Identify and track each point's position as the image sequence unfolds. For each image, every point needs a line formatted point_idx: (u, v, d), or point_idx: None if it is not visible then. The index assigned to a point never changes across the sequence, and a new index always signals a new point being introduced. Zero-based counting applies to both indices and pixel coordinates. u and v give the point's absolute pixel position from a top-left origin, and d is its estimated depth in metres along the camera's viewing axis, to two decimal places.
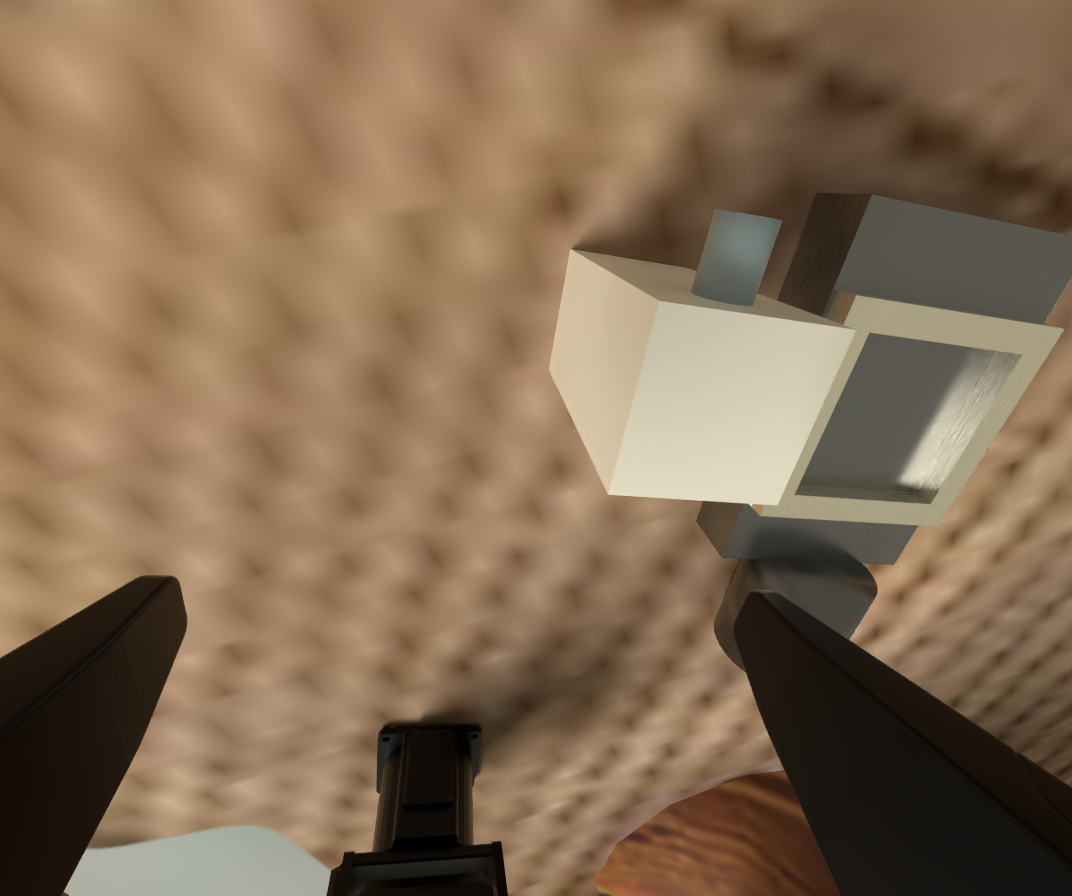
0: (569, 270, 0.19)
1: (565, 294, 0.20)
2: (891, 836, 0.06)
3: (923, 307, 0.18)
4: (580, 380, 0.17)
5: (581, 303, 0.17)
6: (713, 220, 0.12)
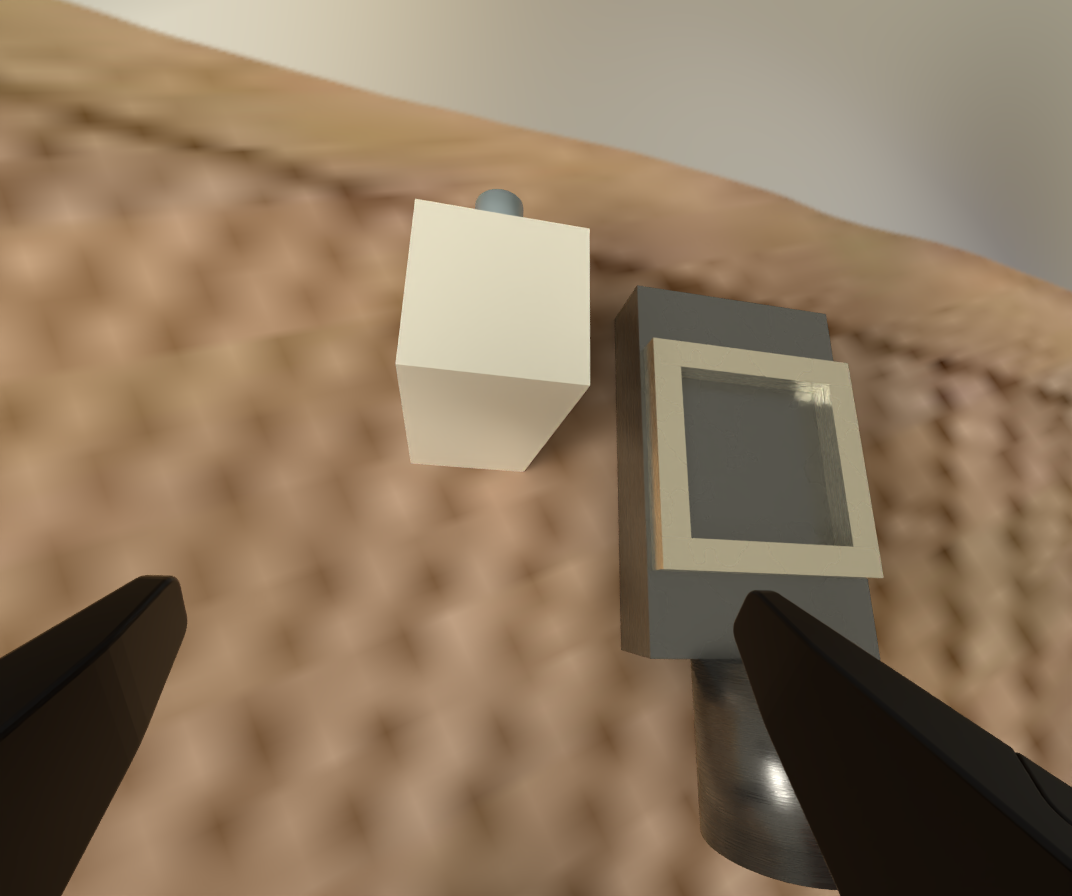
0: None
1: None
2: (891, 836, 0.06)
3: (715, 346, 0.22)
4: None
5: None
6: None
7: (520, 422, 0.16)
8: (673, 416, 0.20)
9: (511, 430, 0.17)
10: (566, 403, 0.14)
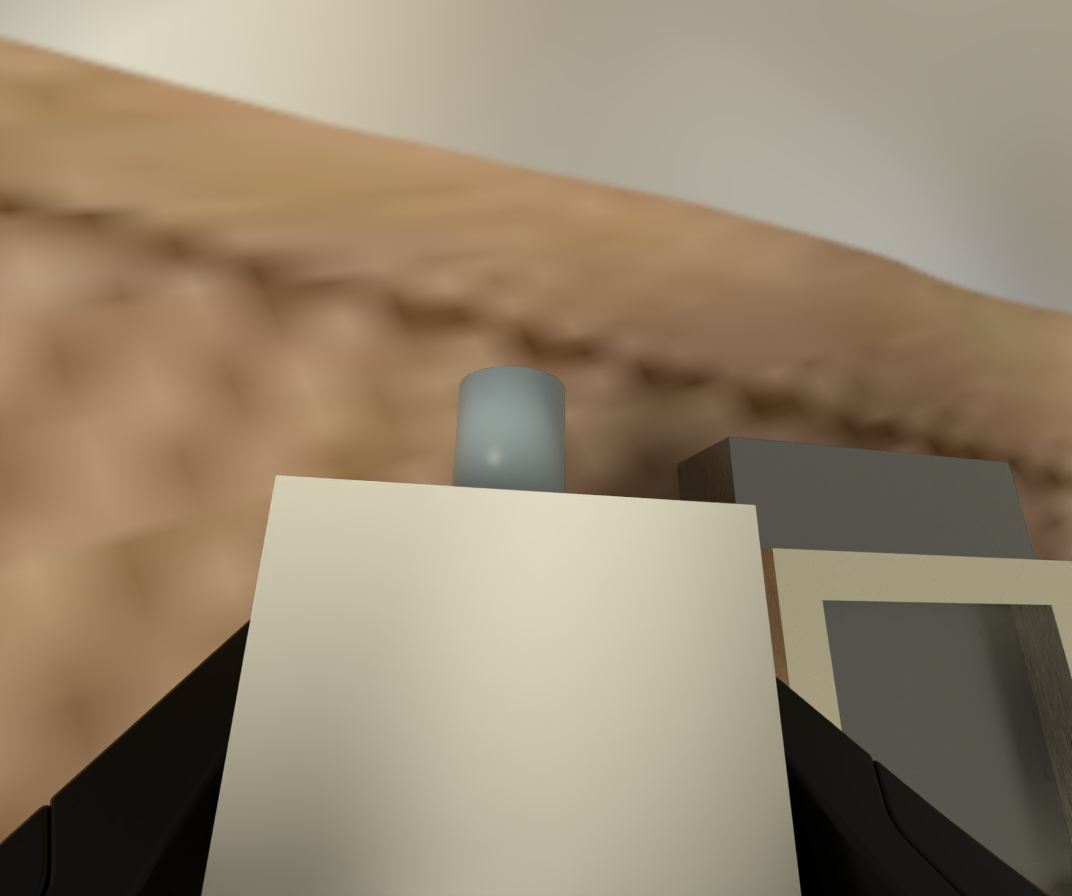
0: None
1: None
2: None
3: (873, 554, 0.13)
4: None
5: None
6: (458, 402, 0.07)
7: None
8: (820, 705, 0.11)
9: None
10: None
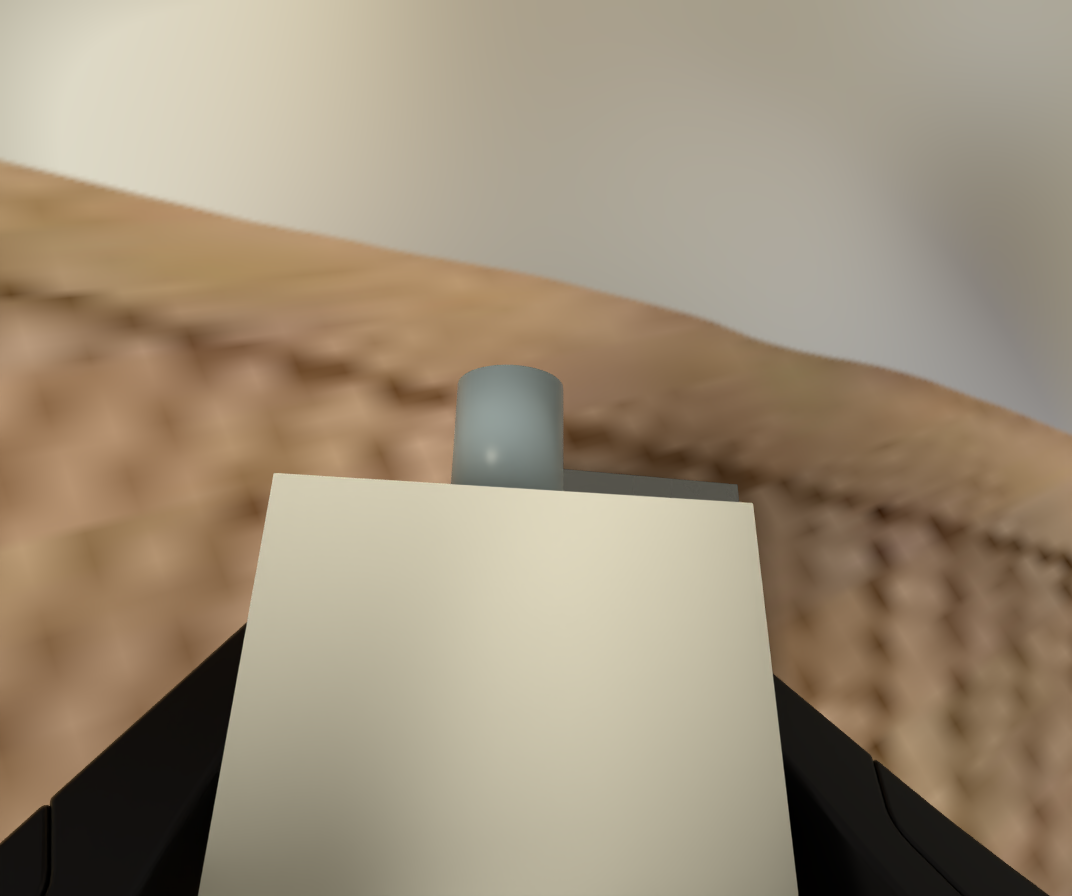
0: None
1: None
2: None
3: None
4: None
5: None
6: (457, 401, 0.07)
7: None
8: None
9: None
10: None
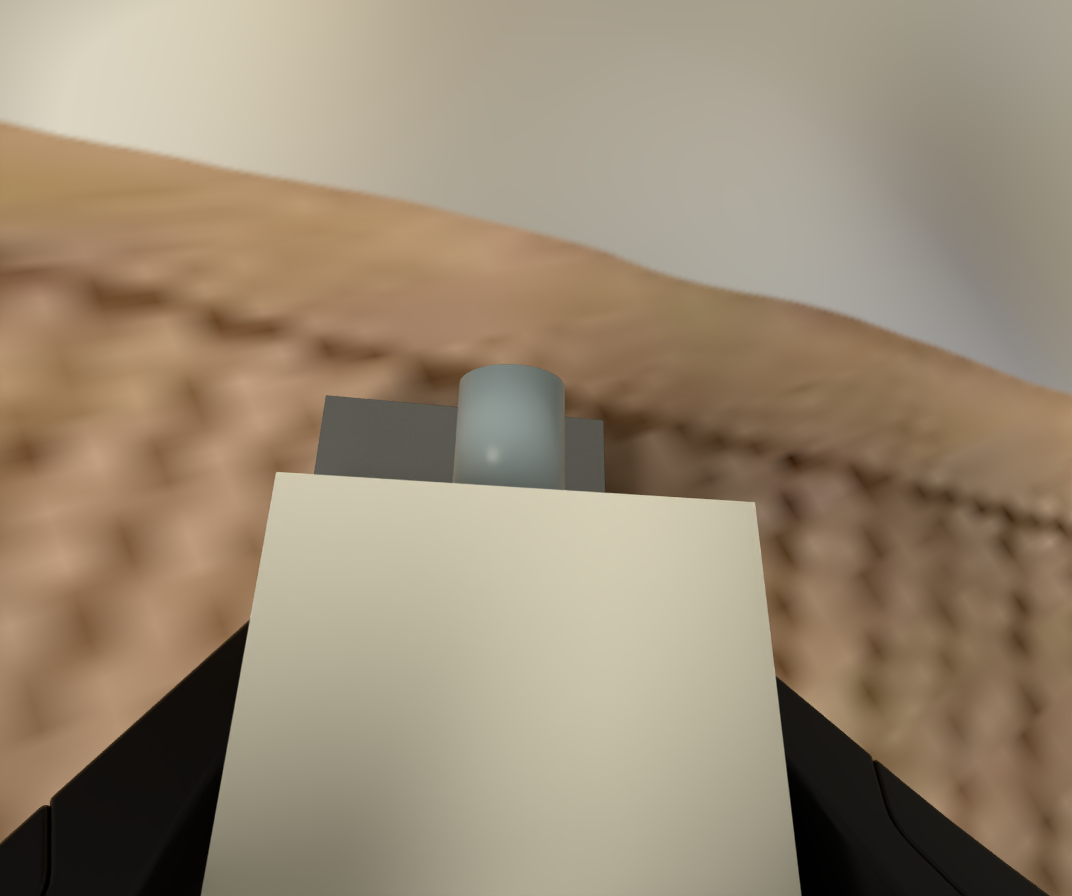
0: None
1: None
2: None
3: None
4: None
5: None
6: (458, 400, 0.07)
7: None
8: None
9: None
10: None
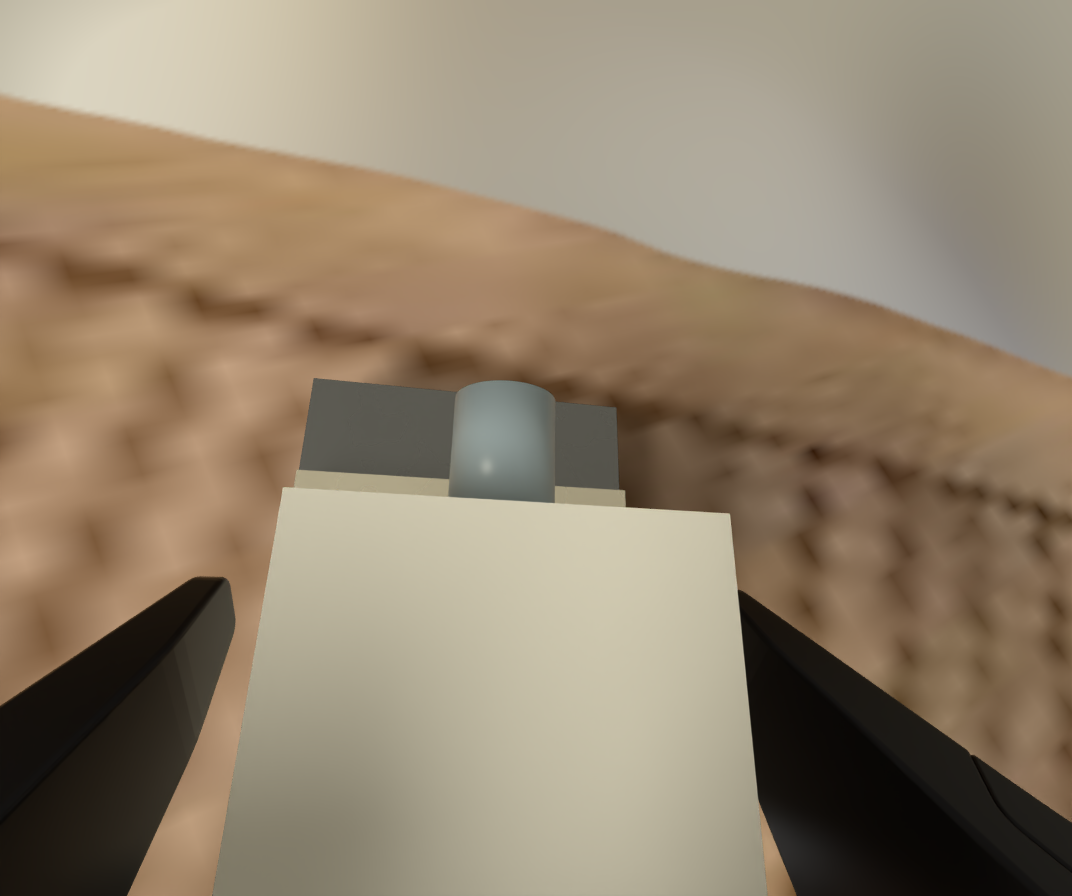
0: None
1: None
2: (846, 840, 0.06)
3: (405, 478, 0.14)
4: None
5: None
6: (454, 413, 0.08)
7: None
8: None
9: None
10: None
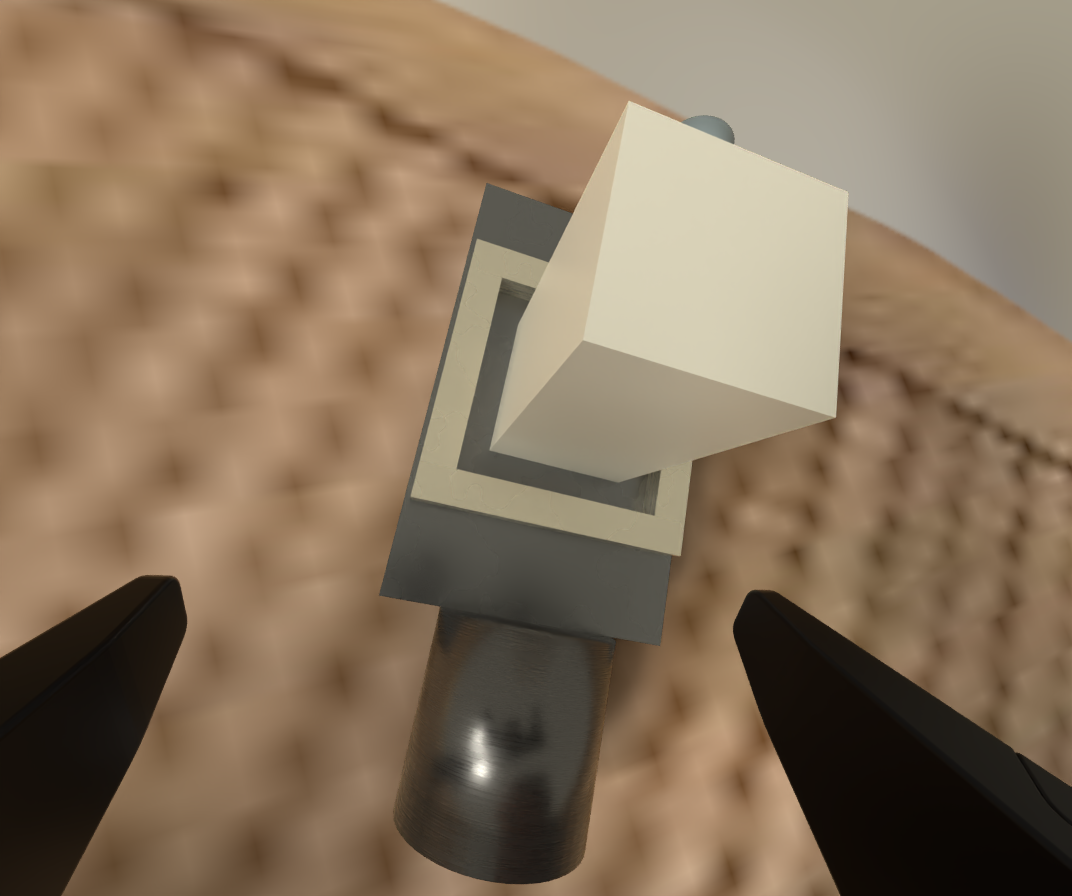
0: (516, 337, 0.18)
1: (512, 358, 0.18)
2: (891, 836, 0.06)
3: None
4: (531, 362, 0.13)
5: (531, 319, 0.15)
6: None
7: (677, 439, 0.12)
8: (475, 331, 0.17)
9: (656, 443, 0.13)
10: (770, 430, 0.10)
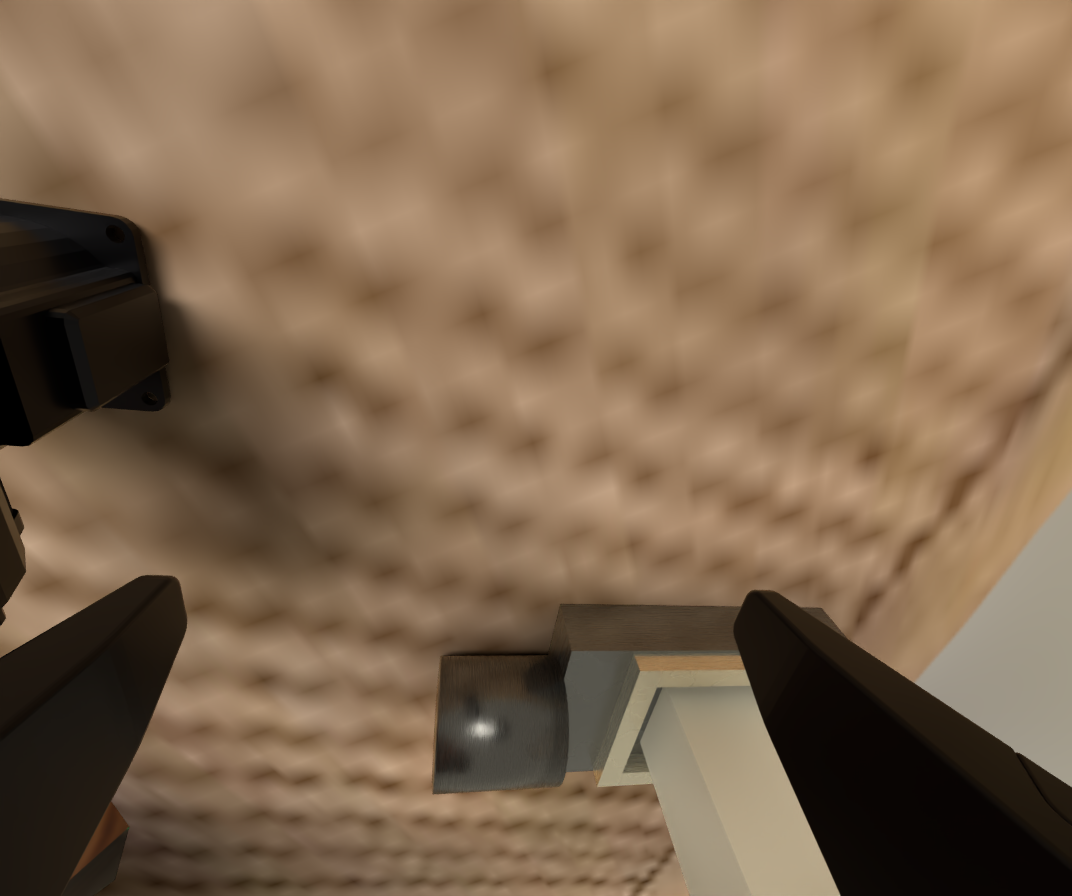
0: (742, 690, 0.26)
1: (728, 692, 0.26)
2: (891, 836, 0.06)
3: None
4: (738, 788, 0.22)
5: (760, 745, 0.24)
6: None
7: (694, 871, 0.22)
8: None
9: (688, 848, 0.22)
10: None
